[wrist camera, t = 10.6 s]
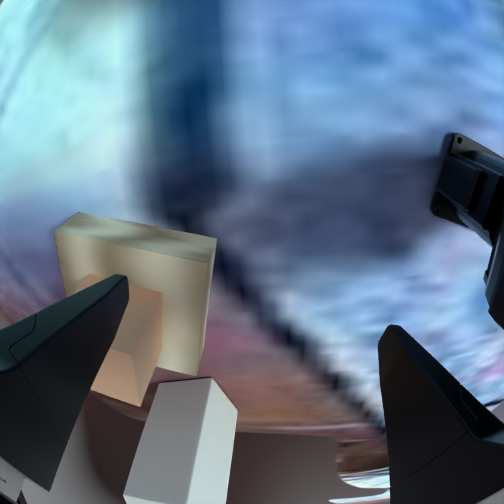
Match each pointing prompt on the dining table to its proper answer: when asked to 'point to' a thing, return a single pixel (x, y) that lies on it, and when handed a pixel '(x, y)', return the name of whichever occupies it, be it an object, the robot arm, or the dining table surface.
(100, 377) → the tan cube
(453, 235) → the dining table surface
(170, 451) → the milk carton
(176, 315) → the birch block
